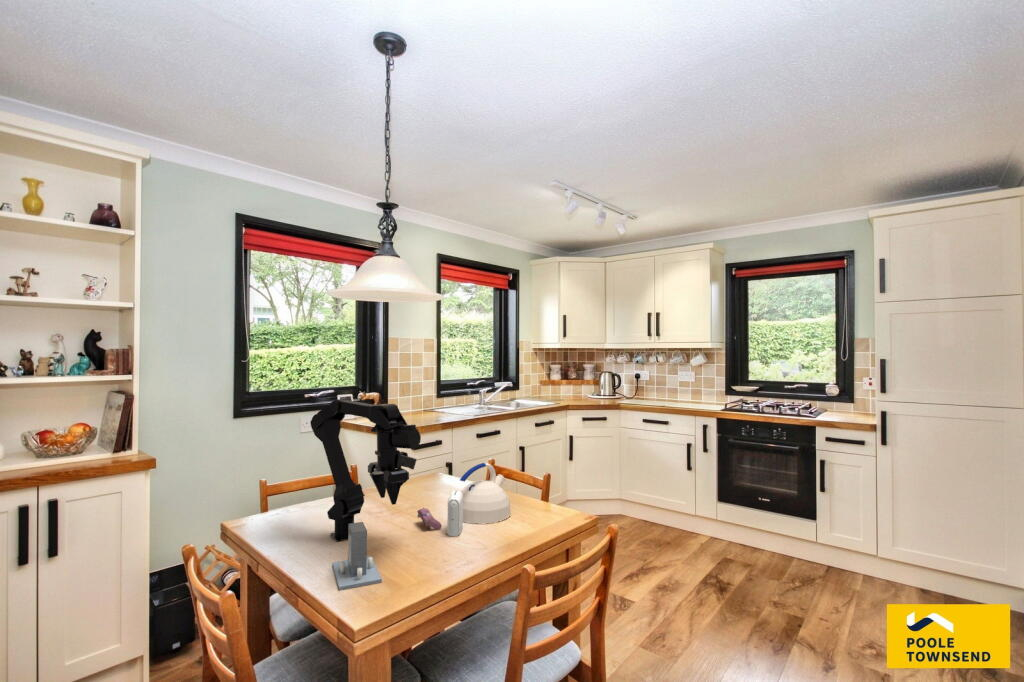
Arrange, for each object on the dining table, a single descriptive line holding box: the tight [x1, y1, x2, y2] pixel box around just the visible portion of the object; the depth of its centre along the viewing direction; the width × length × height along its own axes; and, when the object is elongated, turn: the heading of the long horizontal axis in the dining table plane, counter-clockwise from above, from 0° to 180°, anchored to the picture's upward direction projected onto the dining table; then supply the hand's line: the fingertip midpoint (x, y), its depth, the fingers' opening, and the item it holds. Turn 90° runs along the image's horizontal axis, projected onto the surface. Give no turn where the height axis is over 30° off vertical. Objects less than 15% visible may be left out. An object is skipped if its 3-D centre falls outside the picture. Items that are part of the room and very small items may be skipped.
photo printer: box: [446, 489, 464, 537], centre depth 155 cm, size 10×4×12 cm, turn 0°
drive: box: [347, 521, 368, 577], centre depth 124 cm, size 7×4×11 cm, turn 26°
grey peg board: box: [332, 555, 383, 591], centre depth 124 cm, size 15×10×3 cm, turn 26°
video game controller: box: [417, 507, 442, 530], centre depth 159 cm, size 10×5×7 cm, turn 28°
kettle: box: [459, 462, 512, 525], centre depth 171 cm, size 20×21×18 cm
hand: (388, 500), depth 142 cm, fingers open, 9 cm apart
